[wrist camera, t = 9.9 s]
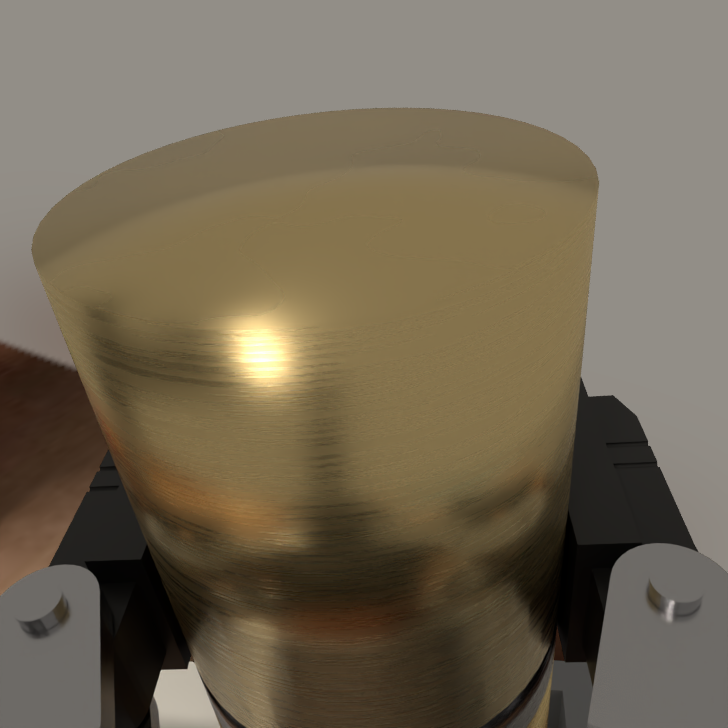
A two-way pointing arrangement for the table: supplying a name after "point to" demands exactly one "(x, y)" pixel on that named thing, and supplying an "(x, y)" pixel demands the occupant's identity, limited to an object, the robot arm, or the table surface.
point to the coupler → (343, 402)
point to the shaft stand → (199, 724)
